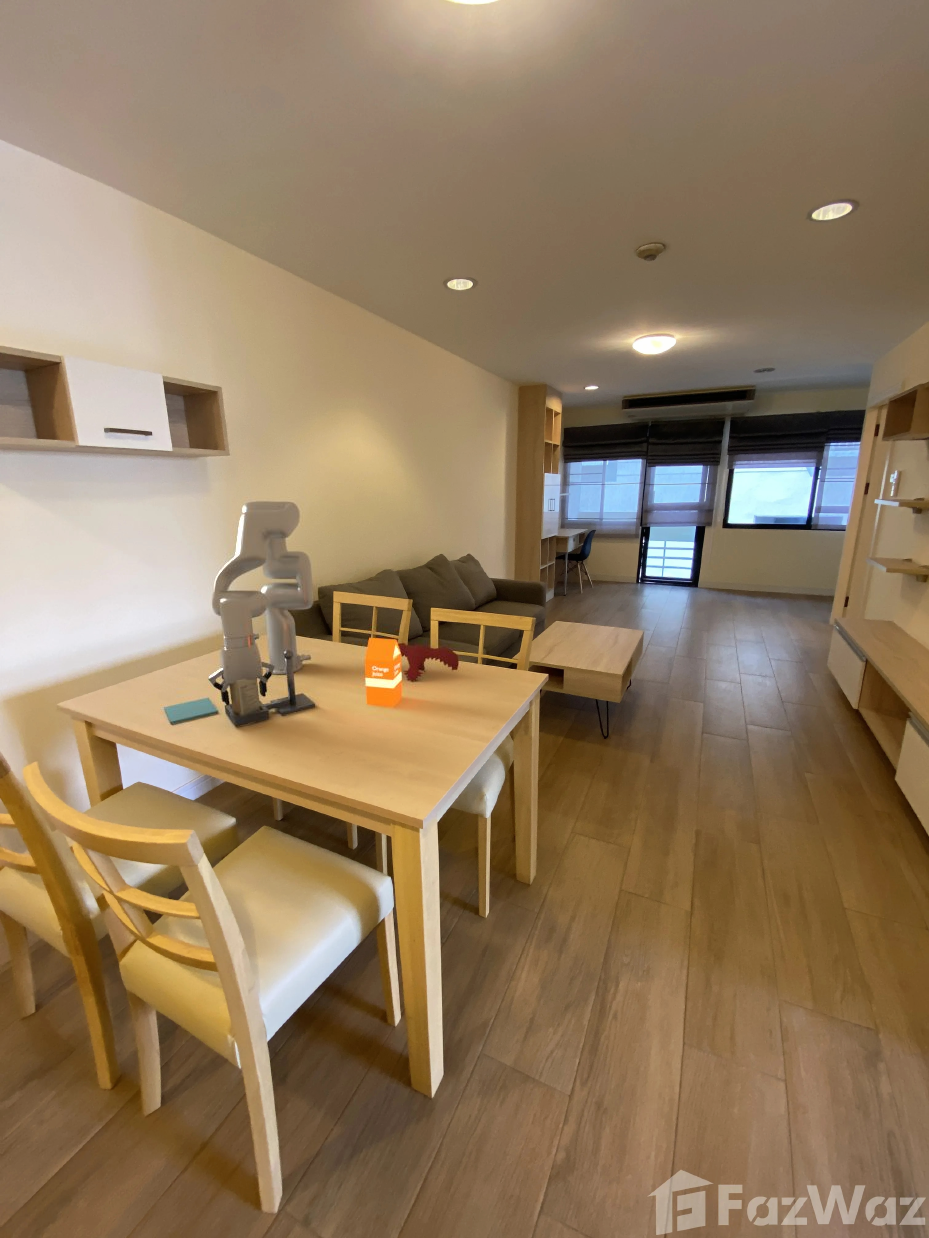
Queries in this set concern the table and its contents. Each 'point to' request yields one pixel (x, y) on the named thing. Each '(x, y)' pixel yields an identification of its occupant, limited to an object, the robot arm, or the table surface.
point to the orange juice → (383, 672)
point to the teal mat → (190, 710)
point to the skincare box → (245, 697)
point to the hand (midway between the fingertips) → (245, 699)
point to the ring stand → (275, 701)
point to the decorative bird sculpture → (421, 653)
